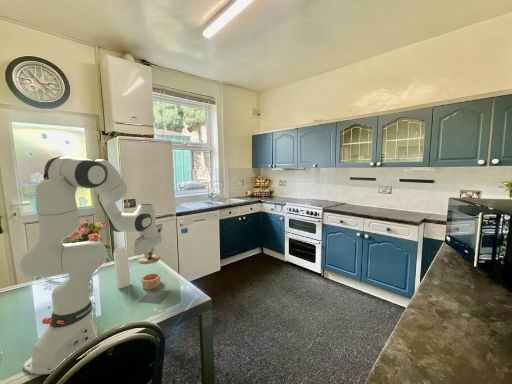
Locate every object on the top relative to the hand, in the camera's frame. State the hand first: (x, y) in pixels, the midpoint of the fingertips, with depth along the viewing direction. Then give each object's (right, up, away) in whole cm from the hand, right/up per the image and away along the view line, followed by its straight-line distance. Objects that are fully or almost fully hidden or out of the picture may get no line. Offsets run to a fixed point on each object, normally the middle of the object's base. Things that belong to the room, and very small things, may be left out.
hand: (149, 256), depth 131 cm
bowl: (0, -17, +2) cm, 17 cm away
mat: (+7, -18, -9) cm, 22 cm away
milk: (-16, -17, +3) cm, 24 cm away
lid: (0, -2, 0) cm, 2 cm away
